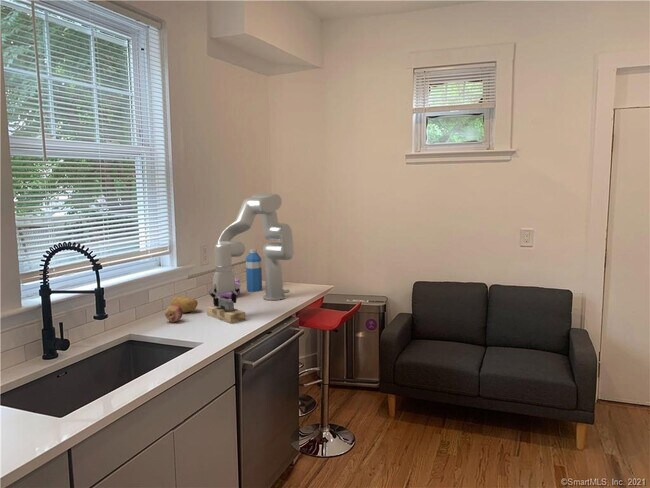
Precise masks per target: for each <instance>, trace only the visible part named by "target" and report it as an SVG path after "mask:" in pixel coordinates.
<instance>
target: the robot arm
mask: <svg viewBox="0 0 650 488" xmlns="http://www.w3.org/2000/svg"><path fill="white" fill-rule="evenodd" d="M282 203H283V202H282V197H281V196H280V194H278V193H254V194H253V195H251V197H247V198H244V200H243V202H242V204H241V206H240V208H239V210H238V213H237V214H236V218H235V220H234V221H233V222H232V223H230V224H229V225H228V226H227V227H226V228H225V229H224V230H223V231H222V232H221V234H220V236H219V238H218V240H217V243H216V244H215V245H214V258H215V259H214V261H215V263H214V264H215V272H214V273H213V278H212V286H211V287H210V288H209V289H207V291H208V294H209V295H210V297H212V298H213V301H212V302H213V306H217V307H218V306H219V302H218V299H219V296H218V295H219V294H222V293H228V292H232V295H231V299H230V300H231V301H234V304H236V303H237V297H236V295H237V296H238V294H237V293H238V291H239V289H240V290H241V283H240V284H237V283H235V278H236V277H235V275H234V271H233V269H234V268H235V266H234V265H232V261H233V260H232V258H240V257H241V256H243V255H244V254H245V252H246V246H245V244H244V243H243V242H241V241H235V240H232V239H234V238H235V237H236V236H238V235H240V234H243V233H244V232H246V231H249V230H250V229H251V227H252V226H253V224H254V221H255V218H256V215H260V216H261V223H262V224H261V225H262V232H263V237H264V239H265V240H267V241H269V242H267V243H265V244H264V245H263V247H262V255H263V260H264V261H263V262H264V272H265V275H264V277H265V278H264V279H265V295H263V296H262V297H263V298H262V299H263V300H264V301H265V300H266V301H271V300H274V301H281V300H280V299H282V300H284V298H285V297H287V296H286V295H285V294H289V293H290V289H285V288H284V287H283V285H284V284H283V281H284V280H283V265H282V263H281V261H289V260H291V259H293V256H294V252H295V251H294V240H293V238H294V237H293V231H292V228H291V226H290V225H289V224H287V223H285V222H284V223H283V222H281V223H280V222H279V218H278V213H277V211H278V210H279V209H280V208H281V206H282ZM274 241H275V242H274ZM276 241H277V242H276ZM278 241H280V242H278ZM235 286H237V287H236V289H235ZM285 299H286V298H285Z"/></svg>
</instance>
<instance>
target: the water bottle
mask: <svg viewBox="0 0 650 488" xmlns="http://www.w3.org/2000/svg"><path fill="white" fill-rule="evenodd" d="M257 251H258V250H257V248H250V249H249V253H248V255H247V256H246V257H245V273H246V274H245V275H246V277H245V278H246V291H248V292H251V293H252V292H260V291H263V277H262V276H263V275H262V273H263V272H262V270H263V269H262V257H261V256H260V255H259V253H258V252H257Z"/></svg>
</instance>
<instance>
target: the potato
mask: <svg viewBox="0 0 650 488" xmlns="http://www.w3.org/2000/svg"><path fill="white" fill-rule="evenodd" d="M170 303H171V305H178V306H180V307H181V309H182V314H183V313H191V312H193V311H194V310H195V309H197V307H198V300H196V298H193V297H188V296H180V295H178V296H174V297H172V299H171V302H170Z"/></svg>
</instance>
